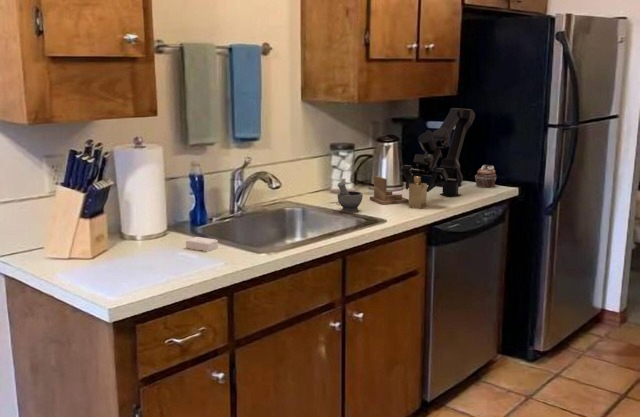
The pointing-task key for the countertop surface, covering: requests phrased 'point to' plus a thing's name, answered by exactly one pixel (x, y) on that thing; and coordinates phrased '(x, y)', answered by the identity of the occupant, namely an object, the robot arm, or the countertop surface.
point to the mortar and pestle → (349, 199)
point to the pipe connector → (339, 189)
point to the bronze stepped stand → (385, 193)
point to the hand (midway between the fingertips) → (416, 190)
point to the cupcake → (486, 177)
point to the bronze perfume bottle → (417, 193)
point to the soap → (202, 244)
